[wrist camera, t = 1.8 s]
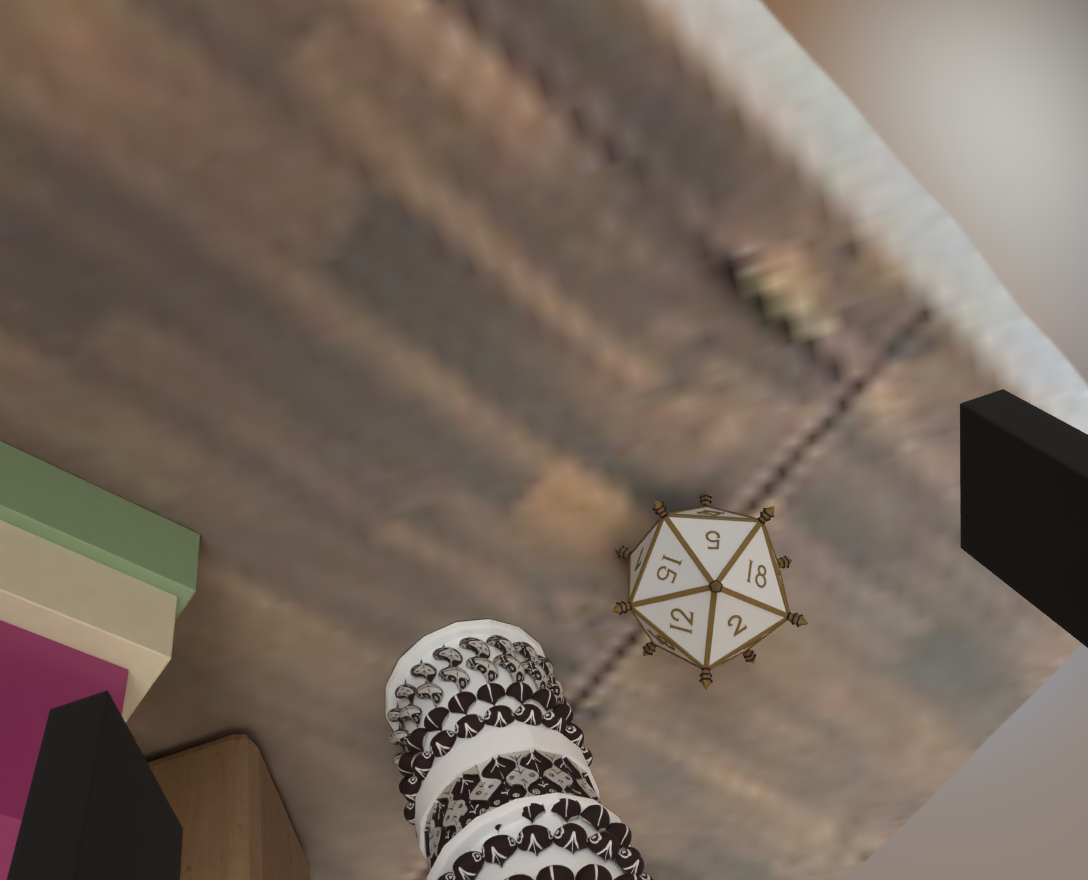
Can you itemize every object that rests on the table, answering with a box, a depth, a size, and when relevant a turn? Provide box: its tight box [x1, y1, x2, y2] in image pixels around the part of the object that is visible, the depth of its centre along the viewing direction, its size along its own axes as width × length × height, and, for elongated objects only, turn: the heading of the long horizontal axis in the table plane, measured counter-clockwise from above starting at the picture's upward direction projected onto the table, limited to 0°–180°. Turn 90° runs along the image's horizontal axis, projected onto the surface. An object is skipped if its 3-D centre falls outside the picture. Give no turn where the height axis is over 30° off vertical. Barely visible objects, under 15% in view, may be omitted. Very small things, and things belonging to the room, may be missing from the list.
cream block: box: [0, 520, 177, 723], centre depth 35 cm, size 8×8×4 cm
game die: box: [612, 491, 808, 689], centre depth 46 cm, size 9×8×10 cm
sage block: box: [0, 441, 200, 621], centre depth 39 cm, size 9×9×4 cm
